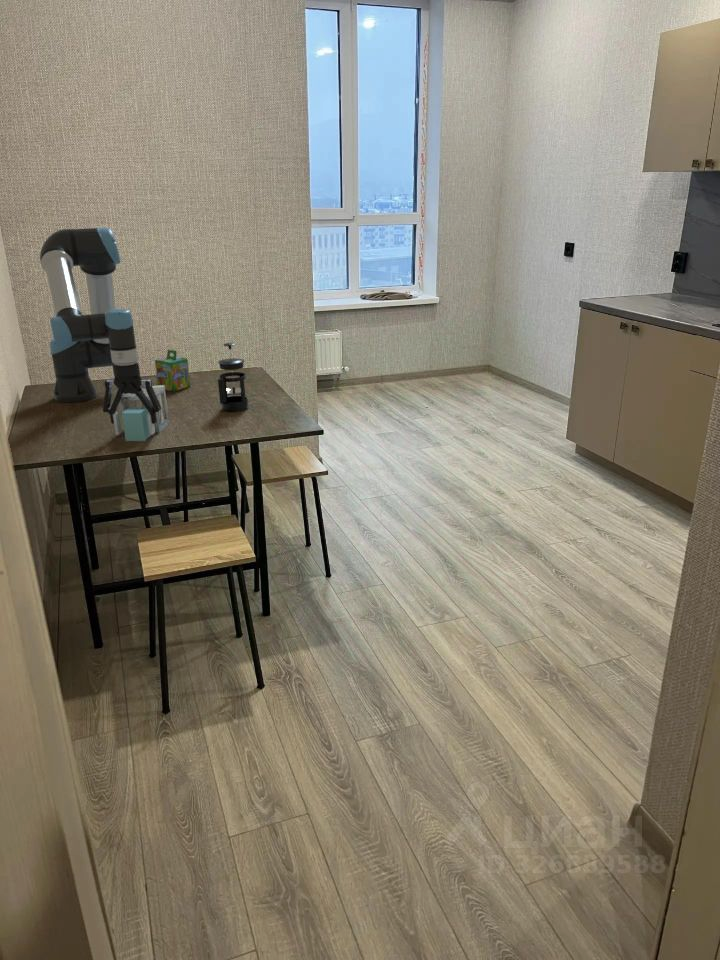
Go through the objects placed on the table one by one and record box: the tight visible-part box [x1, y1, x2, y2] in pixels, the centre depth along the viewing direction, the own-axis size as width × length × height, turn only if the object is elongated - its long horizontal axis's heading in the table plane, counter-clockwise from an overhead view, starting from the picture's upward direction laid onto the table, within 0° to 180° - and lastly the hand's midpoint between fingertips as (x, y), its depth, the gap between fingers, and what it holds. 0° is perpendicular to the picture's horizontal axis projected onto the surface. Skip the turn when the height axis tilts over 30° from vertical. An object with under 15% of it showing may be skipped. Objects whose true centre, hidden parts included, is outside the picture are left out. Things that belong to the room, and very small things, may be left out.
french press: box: [217, 342, 250, 413], centre depth 243 cm, size 12×9×23 cm
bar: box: [141, 385, 168, 430], centre depth 236 cm, size 22×5×9 cm, turn 9°
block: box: [121, 407, 151, 442], centre depth 218 cm, size 6×6×9 cm
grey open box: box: [120, 387, 169, 434], centre depth 226 cm, size 10×11×12 cm
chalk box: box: [154, 349, 191, 393], centre depth 273 cm, size 9×9×15 cm
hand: (135, 433), depth 218 cm, fingers open, 10 cm apart
